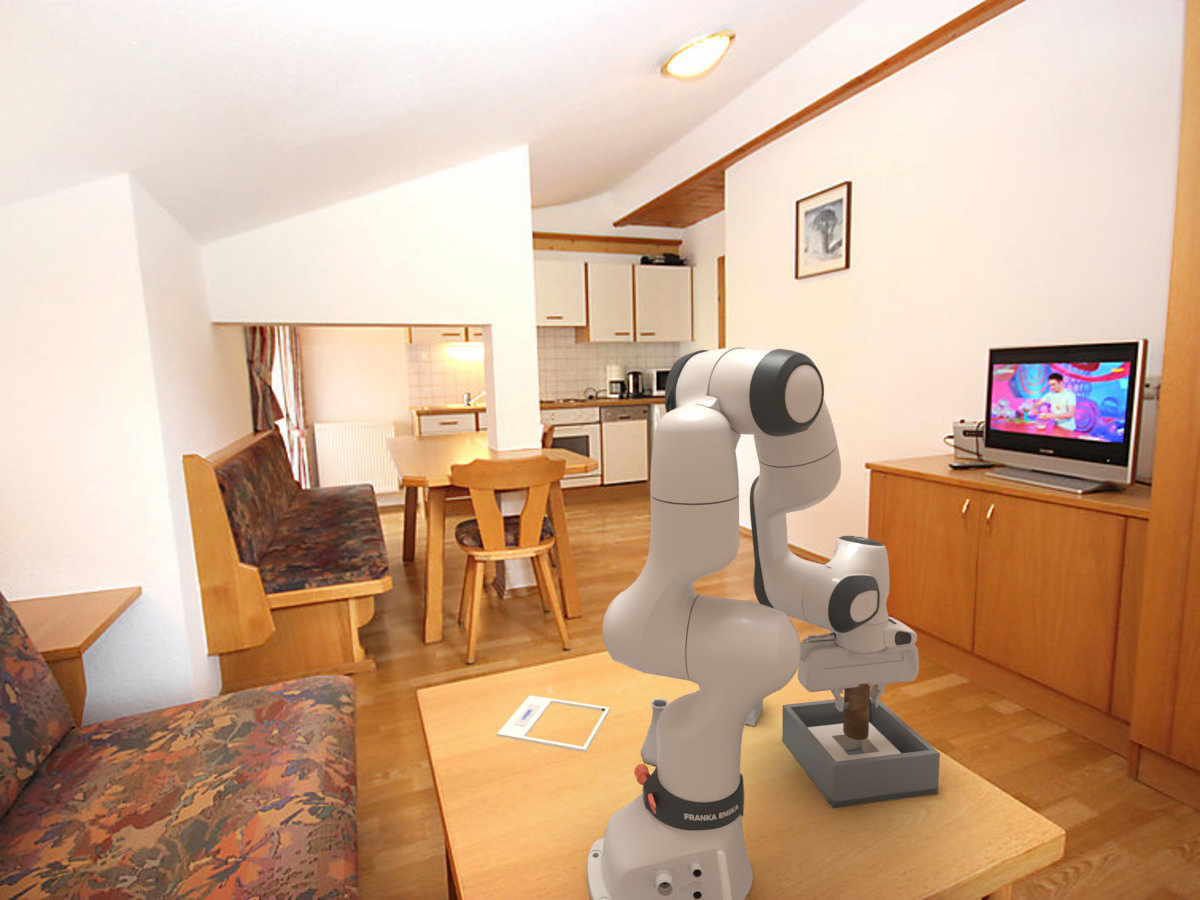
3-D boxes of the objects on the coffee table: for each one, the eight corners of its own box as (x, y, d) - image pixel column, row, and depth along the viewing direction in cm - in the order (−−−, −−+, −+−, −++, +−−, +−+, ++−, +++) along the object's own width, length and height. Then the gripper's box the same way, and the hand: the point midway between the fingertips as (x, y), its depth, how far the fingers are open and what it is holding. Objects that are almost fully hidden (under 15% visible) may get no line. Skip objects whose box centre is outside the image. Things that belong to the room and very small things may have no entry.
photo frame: (529, 694, 131) (609, 706, 125) (529, 699, 131) (610, 711, 125) (497, 732, 117) (585, 748, 112) (497, 738, 118) (585, 754, 112)
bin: (832, 807, 96) (833, 766, 95) (782, 740, 113) (782, 704, 113) (937, 793, 98) (939, 753, 97) (872, 730, 116) (873, 695, 115)
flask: (679, 770, 106) (678, 715, 105) (637, 765, 107) (636, 712, 106) (682, 745, 113) (681, 693, 112) (643, 741, 114) (642, 690, 113)
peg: (851, 741, 103) (852, 685, 102) (838, 727, 107) (840, 673, 106) (873, 738, 104) (875, 682, 102) (860, 724, 108) (861, 671, 106)
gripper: (809, 644, 98) (807, 725, 100) (926, 633, 101) (923, 711, 103) (791, 628, 104) (790, 704, 106) (902, 617, 107) (899, 692, 109)
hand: (856, 707), depth 105 cm, fingers closed on peg, 4 cm apart
